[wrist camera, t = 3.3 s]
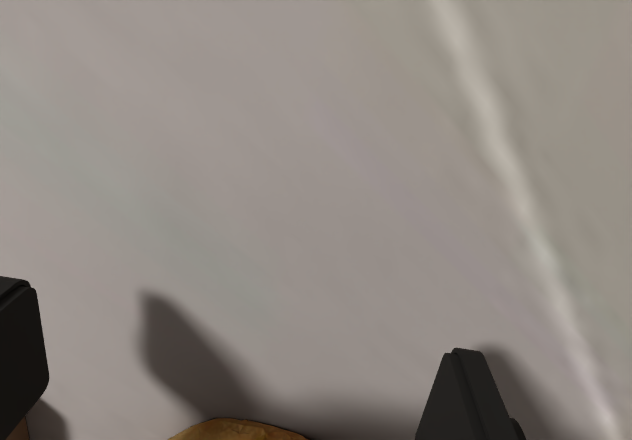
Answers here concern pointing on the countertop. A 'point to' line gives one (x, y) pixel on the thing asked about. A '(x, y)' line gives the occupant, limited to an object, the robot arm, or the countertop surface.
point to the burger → (235, 431)
